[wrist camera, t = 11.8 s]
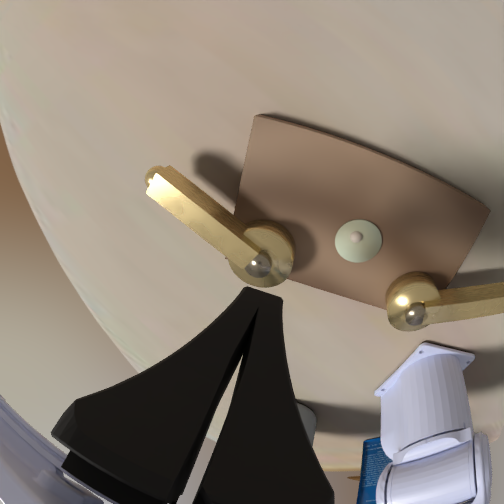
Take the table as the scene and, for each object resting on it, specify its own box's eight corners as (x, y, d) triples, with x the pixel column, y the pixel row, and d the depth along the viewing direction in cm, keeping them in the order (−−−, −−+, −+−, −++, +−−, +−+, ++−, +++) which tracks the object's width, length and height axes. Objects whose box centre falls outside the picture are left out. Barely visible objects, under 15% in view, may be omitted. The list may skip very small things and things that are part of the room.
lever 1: (308, 247, 18) (305, 268, 16) (269, 281, 20) (262, 303, 18) (174, 140, 16) (154, 148, 14) (148, 186, 18) (129, 199, 16)
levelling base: (419, 310, 19) (423, 325, 18) (230, 249, 21) (223, 262, 20) (483, 203, 14) (493, 214, 12) (259, 114, 15) (252, 116, 14)
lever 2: (383, 317, 19) (386, 339, 17) (386, 274, 17) (391, 296, 15) (498, 303, 16) (508, 322, 14) (511, 262, 14) (524, 280, 12)
